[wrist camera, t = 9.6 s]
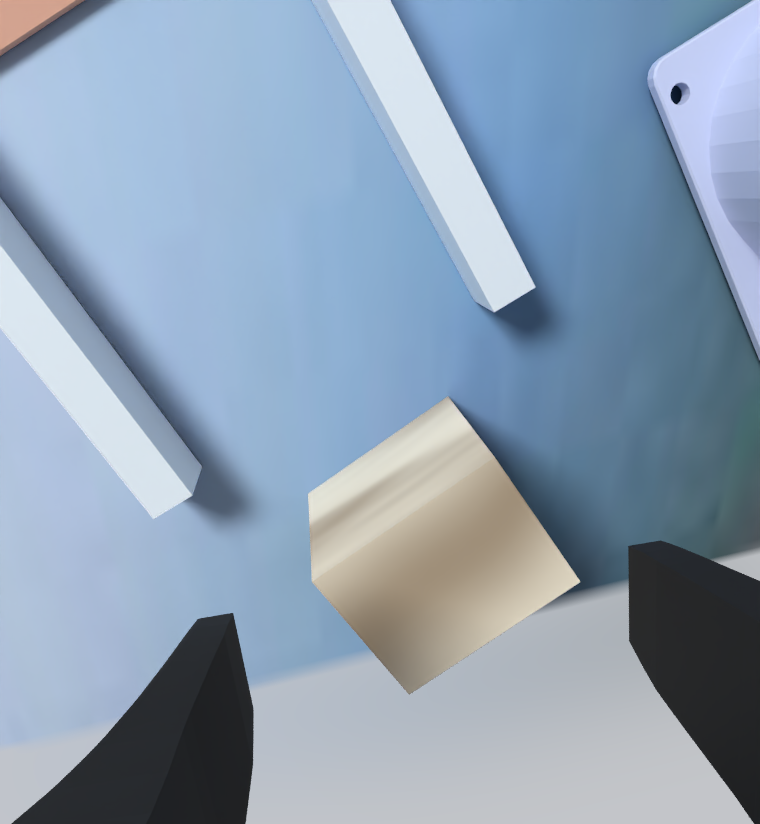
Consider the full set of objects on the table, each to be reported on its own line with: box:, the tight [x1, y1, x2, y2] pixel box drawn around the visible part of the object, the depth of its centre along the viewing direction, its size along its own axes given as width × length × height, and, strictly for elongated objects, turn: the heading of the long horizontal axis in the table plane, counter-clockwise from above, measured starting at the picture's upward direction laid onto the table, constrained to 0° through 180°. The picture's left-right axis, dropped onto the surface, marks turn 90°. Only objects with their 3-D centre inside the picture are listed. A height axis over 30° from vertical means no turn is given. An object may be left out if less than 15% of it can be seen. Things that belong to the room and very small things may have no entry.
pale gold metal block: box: [308, 397, 580, 694], centre depth 19 cm, size 4×5×5 cm
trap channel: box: [0, 0, 535, 519], centre depth 16 cm, size 16×11×2 cm
